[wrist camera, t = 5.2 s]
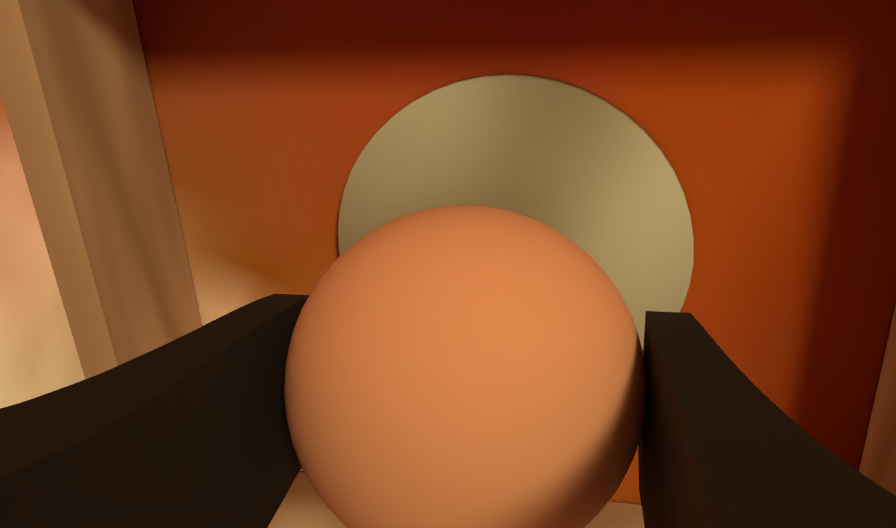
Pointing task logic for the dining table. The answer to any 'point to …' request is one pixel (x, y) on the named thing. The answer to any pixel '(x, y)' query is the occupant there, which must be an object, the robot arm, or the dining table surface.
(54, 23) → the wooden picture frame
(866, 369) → the dining table surface
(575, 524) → the ball
